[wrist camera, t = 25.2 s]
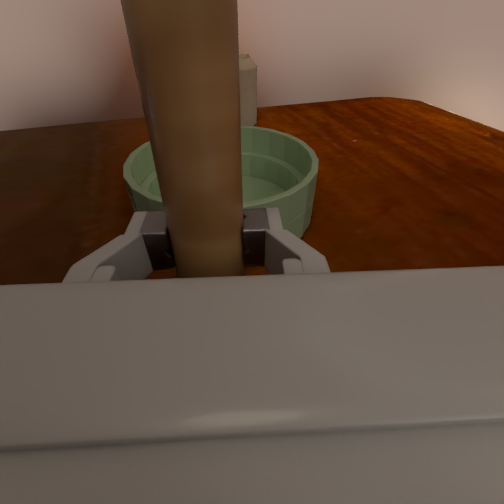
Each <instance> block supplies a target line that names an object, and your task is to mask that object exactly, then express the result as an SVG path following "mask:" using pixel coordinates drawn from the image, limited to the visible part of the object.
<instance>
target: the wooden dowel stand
mask: <svg viewBox="0 0 504 504" xmlns="http://www.w3.org/2000/svg"><path fill="white" fill-rule="evenodd" d="M121 4H122V9H123V14H124V19H125V24H126V28H127V34H128V38H129V43H130V48H131V53H132V58H133V62H134V67H135V72H136V77H137V82H138V87H139V91H140V96H141V101H142V106H143V111H144V116H145V121H146V125H147V130H148V135H149V140H150V145H151V150H152V154H153V159H154V164H155V169H156V174H157V179H158V183H159V188H160V193H161V198H162V203H163V208H164V213H165V217H166V222H167V227H168V232H169V237H170V242H171V246H172V251H173V256H174V261H175V266H176V271H177V275H178V278H200V277H226V276H245V266H244V255H243V248H244V245H243V189H242V154H241V119H240V83H239V51H238V50H239V48H238V15H237V14H238V13H237V0H121Z"/></svg>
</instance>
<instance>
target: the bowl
mask: <svg viewBox="0 0 504 504" xmlns="http://www.w3.org/2000/svg"><path fill="white" fill-rule="evenodd" d="M241 154H242V189H243V209H257V208H272V207H278V208H279V213H280V217H281V222H282V226H283V230H285V229H286V230H288V231H289V232H291V233H292V234H294V235H295V236H296V237H298V238H301V237H302V235H303V234H304V232H305V231H306V229H307V227H308V226H309V224H310V220H311V213H312V206H313V200H314V193H315V186H316V180H317V173H318V164H319V160H318V158H317V156H316V154H315V152H314V150H313V149H312V148H311V147H309V146H308V145H307V144H306V143H305V142H303V141H302V140H299V139H297V138H295V137H293V136H291V135H289V134H286V133H283V132H279V131H276V130H272V129H267V128H261V127H255V126H242V125H241ZM123 177H124V180H125V183H126V187H127V190H128V193H129V197H130V200H131V203H132V206H133V210H134V212H141V211H164V208H163V203H162V198H161V193H160V188H159V183H158V179H157V174H156V169H155V164H154V159H153V154H152V150H151V145H150V141H149V142H147V143H145V144H143V145H141V146H140V147H138V148H137V149H136V150H135V151H133V152H132V153H131V154H130V155H129V157H128V158H127V160H126V162H125V163H124V165H123Z"/></svg>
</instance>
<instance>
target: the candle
mask: <svg viewBox="0 0 504 504" xmlns="http://www.w3.org/2000/svg"><path fill="white" fill-rule="evenodd" d="M239 83H240V119H241V125H242V126H254V125H255V124H256V120H257V65H256V64H255V63H254V61H253V60H252V59H251V58H250V56H249V55H248V54H247V55H244V54H240V55H239Z"/></svg>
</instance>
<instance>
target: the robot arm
mask: <svg viewBox="0 0 504 504" xmlns="http://www.w3.org/2000/svg"><path fill="white" fill-rule="evenodd" d="M243 245H244V248H243V255H244V266H264V267H265V268H266V269H267V270H268V272H269V273H270V274H271V275H252V276H226V277H200V278H174V279H148V280H145V279H146V278H147V277H148V276H149V275H150V274H151V273H152V272H153V270H166V269H174V267H175V261H174V256H173V251H172V246H171V242H170V237H169V232H168V227H167V222H166V217H165V213H164V211H141V212H134V214H133V216H132V218H131V220H130V223H129V225H128V227H127V229H126V232H125V234H124V235H120V236H118V237H116V238H115V239H113V240H112V241H110V242H109V243H107V244H105V245H104V246H102V247H101V248H99V249H97V250H96V251H94V252H93V253H91V254H89V255H88V256H86V257H85V258H83V259H82V260H80V261H78V262H77V263H75V264H74V265H72V266H71V268H70V269H69V271H68V273H67V274H66V276H65V278H64V279H63V281H62V283H45V284H19V285H0V504H504V266H484V267H460V268H434V269H408V270H382V271H355V272H330V269H329V267H328V264H327V261H326V258H325V256H323V255H322V254H320V253H319V252H318V251H316V250H315V249H313V248H312V247H311V246H309V245H308V244H306V243H305V242H304V241H302V240H301V239H299V238H298V237H296V236H295V235H294V234H292V233H291V232H289V231H288V230H286V229H285V230H283V226H282V222H281V217H280V213H279V208H278V207H272V208H257V209H243Z"/></svg>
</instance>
